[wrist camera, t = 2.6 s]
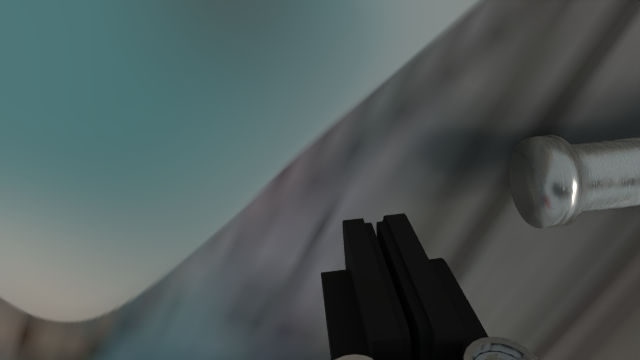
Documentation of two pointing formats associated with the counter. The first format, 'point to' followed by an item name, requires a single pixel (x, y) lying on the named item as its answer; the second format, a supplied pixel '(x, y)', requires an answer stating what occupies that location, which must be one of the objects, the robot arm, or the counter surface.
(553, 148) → the pin
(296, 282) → the counter surface
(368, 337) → the robot arm
